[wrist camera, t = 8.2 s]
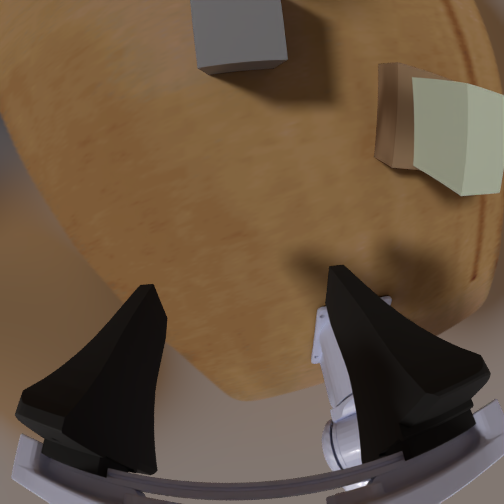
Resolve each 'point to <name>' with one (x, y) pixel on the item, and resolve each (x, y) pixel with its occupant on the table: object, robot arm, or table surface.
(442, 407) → the robot arm
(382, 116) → the walnut block
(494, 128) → the sage brick
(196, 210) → the table surface
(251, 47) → the charcoal brick
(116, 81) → the table surface
